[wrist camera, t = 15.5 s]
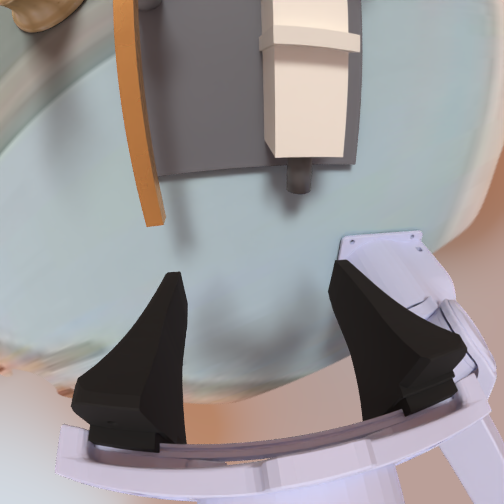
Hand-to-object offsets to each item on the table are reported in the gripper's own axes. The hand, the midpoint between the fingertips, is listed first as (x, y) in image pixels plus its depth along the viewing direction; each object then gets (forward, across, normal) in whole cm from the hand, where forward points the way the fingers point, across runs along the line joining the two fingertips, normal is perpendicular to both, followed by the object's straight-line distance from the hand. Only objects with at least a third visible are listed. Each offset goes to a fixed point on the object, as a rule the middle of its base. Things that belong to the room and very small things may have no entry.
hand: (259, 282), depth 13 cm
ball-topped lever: (+5, +6, -9) cm, 11 cm away
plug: (+9, -3, -10) cm, 14 cm away
